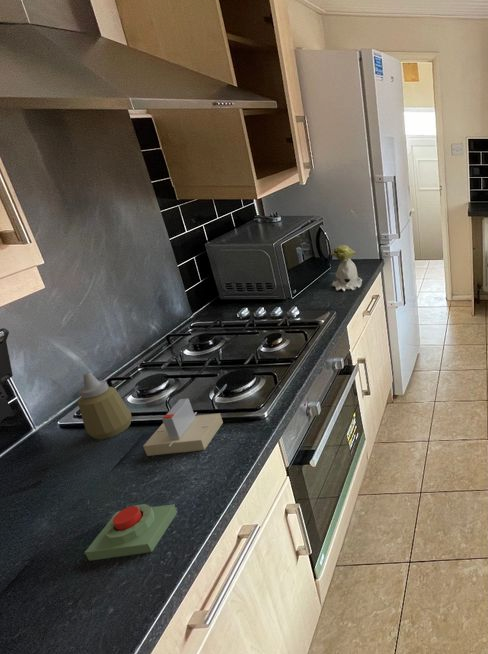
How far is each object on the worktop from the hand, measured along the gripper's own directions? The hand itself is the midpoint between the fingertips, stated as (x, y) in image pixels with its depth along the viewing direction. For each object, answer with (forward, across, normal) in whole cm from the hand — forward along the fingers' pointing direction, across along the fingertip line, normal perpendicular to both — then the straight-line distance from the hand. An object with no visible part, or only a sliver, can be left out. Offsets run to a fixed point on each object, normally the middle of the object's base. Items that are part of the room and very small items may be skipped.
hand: (0, 417), depth 72 cm
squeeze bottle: (+24, -4, +22) cm, 33 cm away
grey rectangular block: (+21, +14, +18) cm, 31 cm away
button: (+20, +18, -7) cm, 28 cm away
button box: (+24, +18, -7) cm, 31 cm away
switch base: (+24, +14, +18) cm, 33 cm away
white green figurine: (+24, +33, +107) cm, 114 cm away
